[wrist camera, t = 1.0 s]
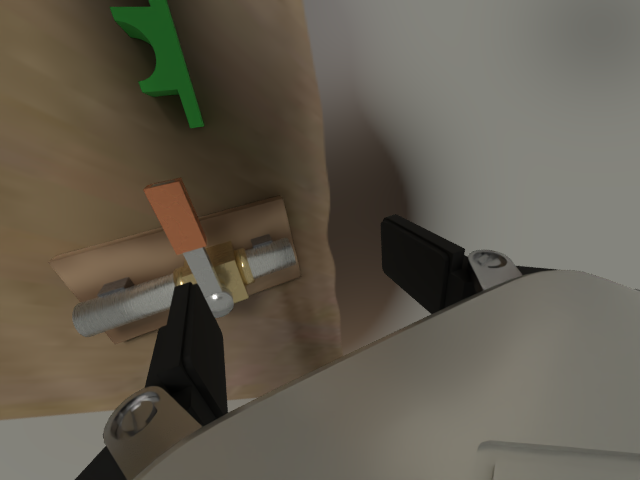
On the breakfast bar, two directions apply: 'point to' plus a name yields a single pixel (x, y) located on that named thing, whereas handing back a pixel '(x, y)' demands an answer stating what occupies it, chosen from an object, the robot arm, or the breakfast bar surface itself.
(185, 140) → the breakfast bar surface
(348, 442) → the robot arm
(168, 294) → the valve and pipe
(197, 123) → the pipe clamp
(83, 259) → the valve stand
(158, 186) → the valve lever
